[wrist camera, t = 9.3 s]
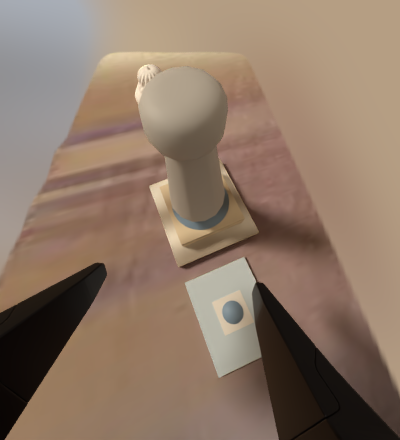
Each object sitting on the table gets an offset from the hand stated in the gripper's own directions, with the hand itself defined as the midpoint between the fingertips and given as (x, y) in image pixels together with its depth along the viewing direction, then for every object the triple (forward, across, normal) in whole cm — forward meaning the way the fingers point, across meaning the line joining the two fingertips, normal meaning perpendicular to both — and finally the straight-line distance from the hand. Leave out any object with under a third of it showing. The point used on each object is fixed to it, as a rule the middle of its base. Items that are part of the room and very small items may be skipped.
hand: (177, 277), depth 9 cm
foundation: (+14, 0, +2) cm, 14 cm away
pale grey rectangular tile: (+5, -5, +10) cm, 13 cm away
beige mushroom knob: (+11, 0, 0) cm, 11 cm away
